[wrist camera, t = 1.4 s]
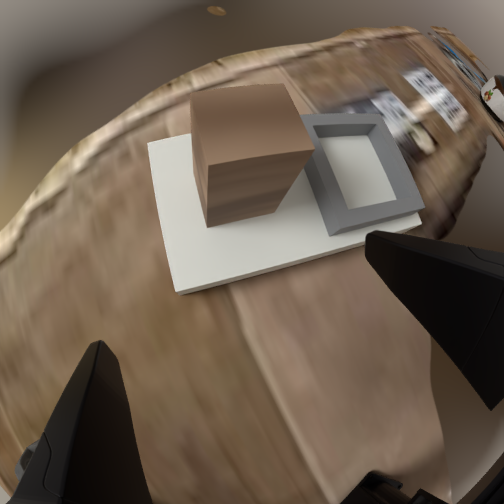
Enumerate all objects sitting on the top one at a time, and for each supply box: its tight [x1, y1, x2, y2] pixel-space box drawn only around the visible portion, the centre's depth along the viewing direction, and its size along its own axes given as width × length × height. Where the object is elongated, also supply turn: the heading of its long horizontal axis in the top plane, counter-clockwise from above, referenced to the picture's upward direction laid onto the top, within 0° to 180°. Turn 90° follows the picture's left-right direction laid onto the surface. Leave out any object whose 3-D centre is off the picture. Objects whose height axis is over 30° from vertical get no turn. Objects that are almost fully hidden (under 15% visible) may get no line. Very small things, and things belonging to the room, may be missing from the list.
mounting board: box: [148, 114, 425, 295], centre depth 22 cm, size 12×22×5 cm, turn 106°
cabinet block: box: [190, 84, 315, 228], centre depth 16 cm, size 4×5×8 cm
